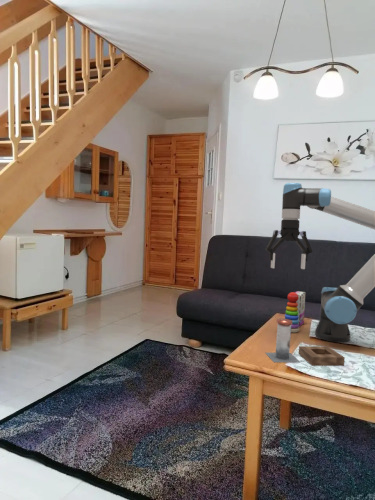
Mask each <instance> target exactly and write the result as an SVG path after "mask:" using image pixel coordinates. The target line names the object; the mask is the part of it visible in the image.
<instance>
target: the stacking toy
mask: <svg viewBox="0 0 375 500" xmlns="http://www.w3.org/2000/svg"><path fill="white" fill-rule="evenodd" d="M295 292H296V291H293V292H292V291H291V292H289V293H288V294H287V300H288V302H287V304H286V305H287V306H286V307H285V309H286V310H285V314H284V319H289V320H292V321H293V322H292V325H291V334H292V333H294V334H295V333H298V332H300V327H299V324H298V323H299V320H298V318H299V316H298V311H297V310H298V308H297V306H298V303H297V301H298V298H299V297H298V294H297V293H295Z"/></svg>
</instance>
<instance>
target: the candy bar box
mask: <svg viewBox="0 0 375 500" xmlns="http://www.w3.org/2000/svg"><path fill="white" fill-rule="evenodd" d="M294 292H295V293H297V294H298V297H299V298H298V301H297V303H298V306H297V308H298V310H297V311H298V316H299V318H298V320H299V323H298V324H299V327H298V328H300V327H301V326H302V325H303V324H304V323H305V309H306V308H305V307H306V292H305V291H299V290H297V291H294Z"/></svg>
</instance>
